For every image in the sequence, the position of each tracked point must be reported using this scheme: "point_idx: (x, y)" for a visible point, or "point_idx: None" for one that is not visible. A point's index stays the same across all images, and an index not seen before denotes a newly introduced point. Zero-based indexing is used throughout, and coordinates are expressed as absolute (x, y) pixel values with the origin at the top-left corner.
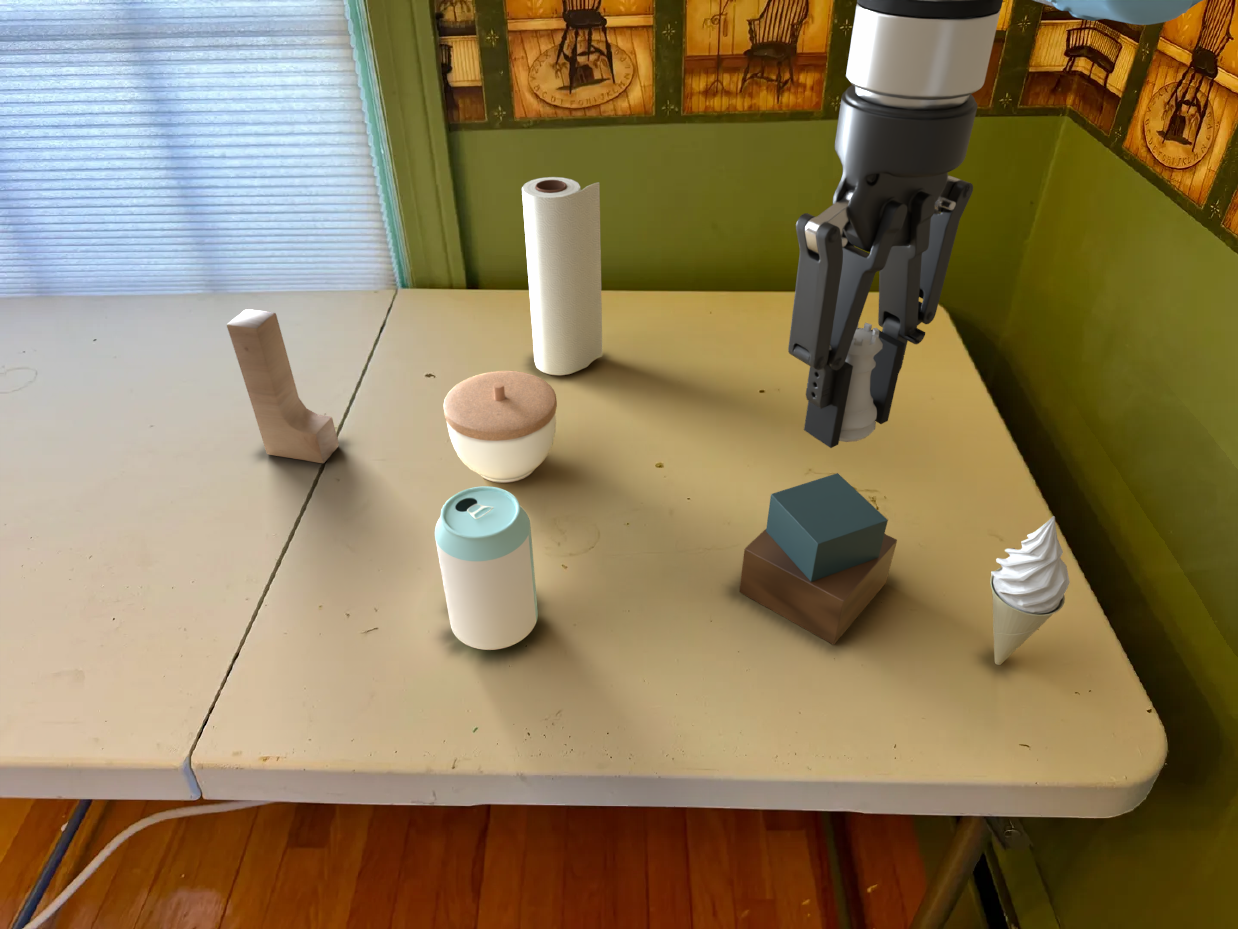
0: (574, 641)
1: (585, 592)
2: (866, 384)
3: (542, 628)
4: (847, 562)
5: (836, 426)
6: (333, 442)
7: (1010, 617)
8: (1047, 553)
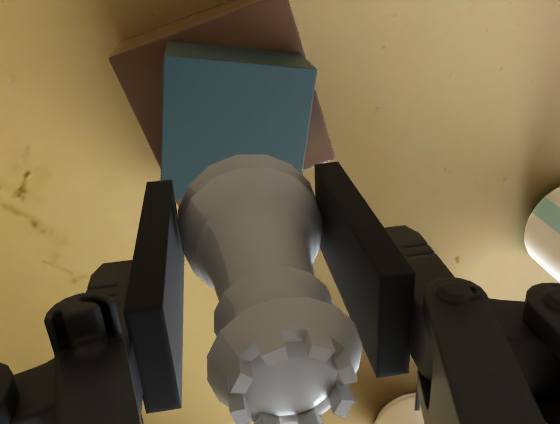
0: (520, 158)
1: (464, 215)
2: (258, 246)
3: (533, 190)
4: (235, 49)
5: (347, 184)
6: None
7: None
8: None
